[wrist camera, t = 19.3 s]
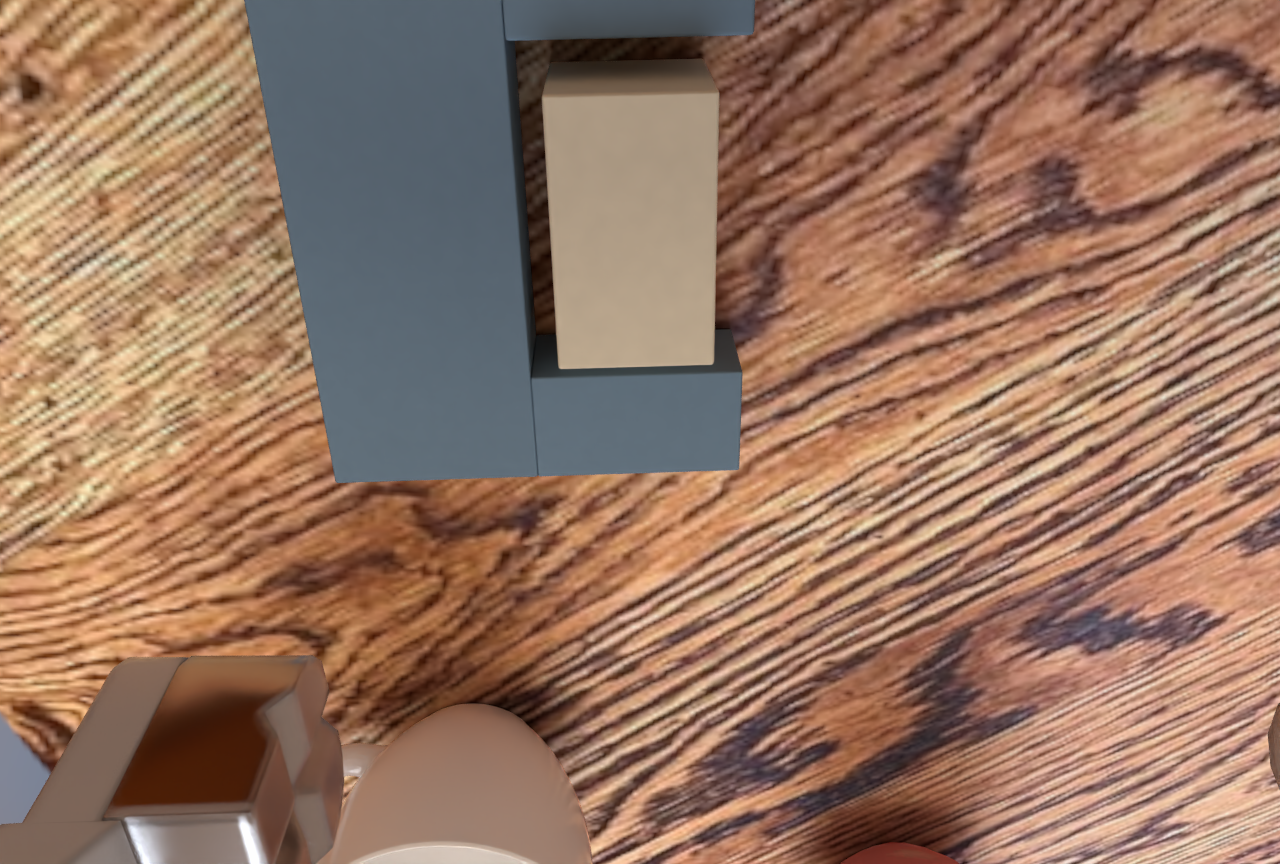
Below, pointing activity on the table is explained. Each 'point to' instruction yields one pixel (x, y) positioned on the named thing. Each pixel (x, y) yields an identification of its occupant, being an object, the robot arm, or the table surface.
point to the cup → (460, 796)
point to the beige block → (632, 211)
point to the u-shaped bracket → (457, 245)
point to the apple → (898, 855)
